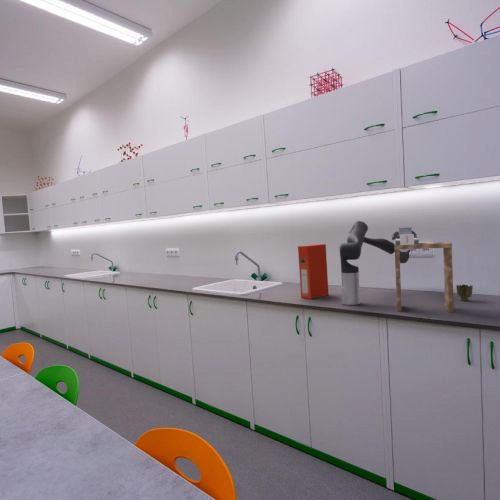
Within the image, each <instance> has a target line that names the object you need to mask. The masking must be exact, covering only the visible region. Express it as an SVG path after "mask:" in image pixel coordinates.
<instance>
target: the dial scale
mask: <svg viewBox="0 0 500 500" xmlns="http://www.w3.org/2000/svg"><path fill="white" fill-rule="evenodd" d="M394 242H395V243H394V244H396V245H415V244H419V243H420V240H419V239H418V237H417V238H414V234H402V235H400V239H394Z"/></svg>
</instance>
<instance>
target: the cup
mask: <svg viewBox="0 0 500 500" xmlns="http://www.w3.org/2000/svg"><path fill="white" fill-rule="evenodd" d="M455 287H456V294H457V296H458V297H459V298H460V301H462V302H468V301H470V299H469V298H471V297H472V295H473V288H474V286H473V285H472V284H469V285H468V284H456V286H455Z"/></svg>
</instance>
